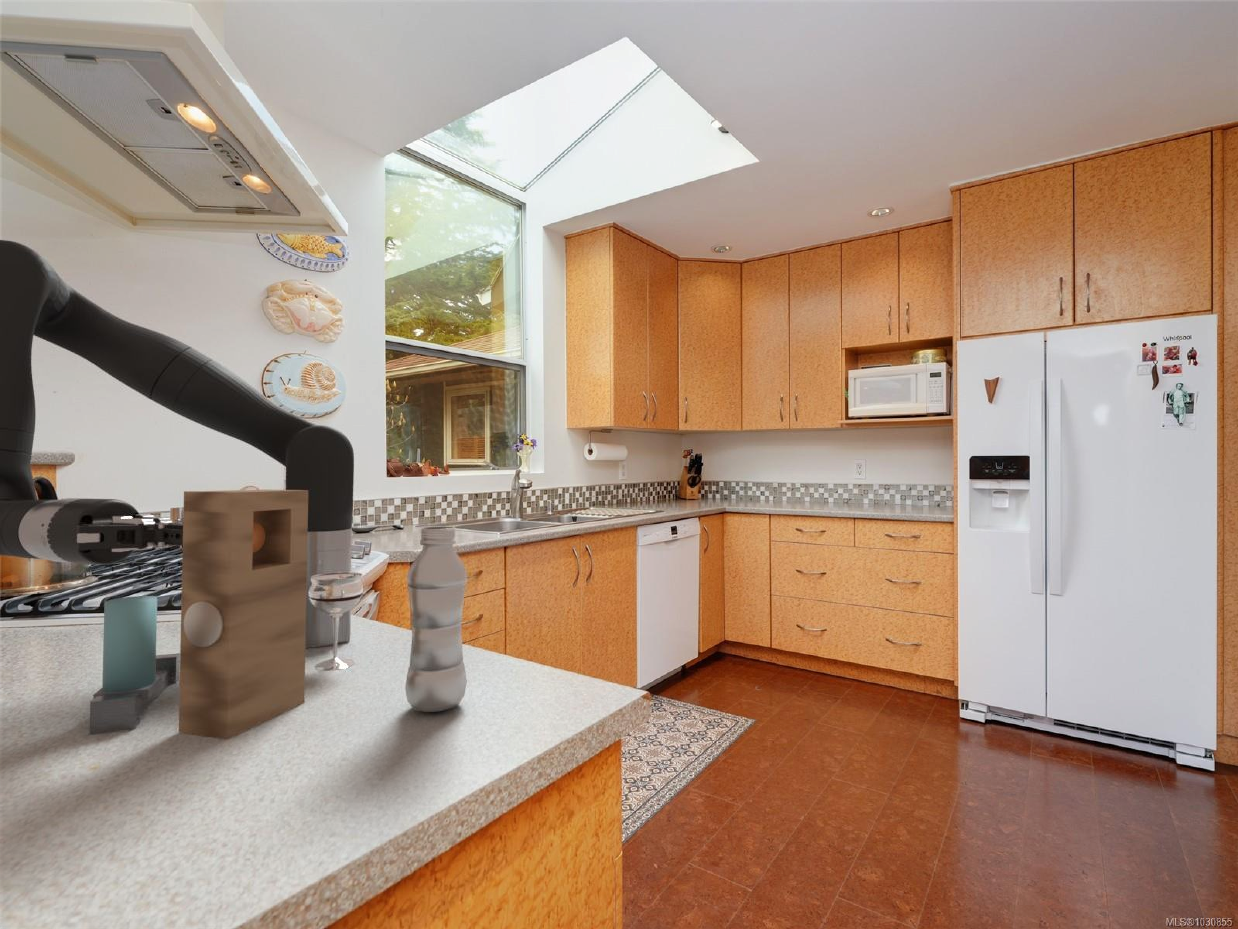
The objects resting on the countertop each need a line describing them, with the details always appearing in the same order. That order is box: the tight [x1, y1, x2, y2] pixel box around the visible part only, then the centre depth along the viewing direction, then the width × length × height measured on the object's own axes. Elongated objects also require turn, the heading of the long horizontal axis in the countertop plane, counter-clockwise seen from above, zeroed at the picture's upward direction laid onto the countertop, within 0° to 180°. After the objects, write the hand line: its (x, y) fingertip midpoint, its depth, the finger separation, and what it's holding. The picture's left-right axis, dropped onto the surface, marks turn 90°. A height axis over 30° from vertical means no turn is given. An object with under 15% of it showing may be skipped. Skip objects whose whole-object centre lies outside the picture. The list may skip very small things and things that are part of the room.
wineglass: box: [309, 571, 364, 671], centre depth 82 cm, size 7×7×12 cm
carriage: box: [92, 595, 162, 700], centre depth 65 cm, size 5×5×10 cm
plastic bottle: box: [404, 525, 468, 713], centre depth 67 cm, size 6×7×20 cm
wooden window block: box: [178, 489, 308, 740], centre depth 64 cm, size 6×10×24 cm, turn 166°
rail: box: [88, 653, 180, 735], centre depth 68 cm, size 4×16×3 cm, turn 23°
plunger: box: [253, 523, 265, 553], centre depth 65 cm, size 7×3×3 cm, turn 76°
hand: (200, 535), depth 66 cm, fingers closed
